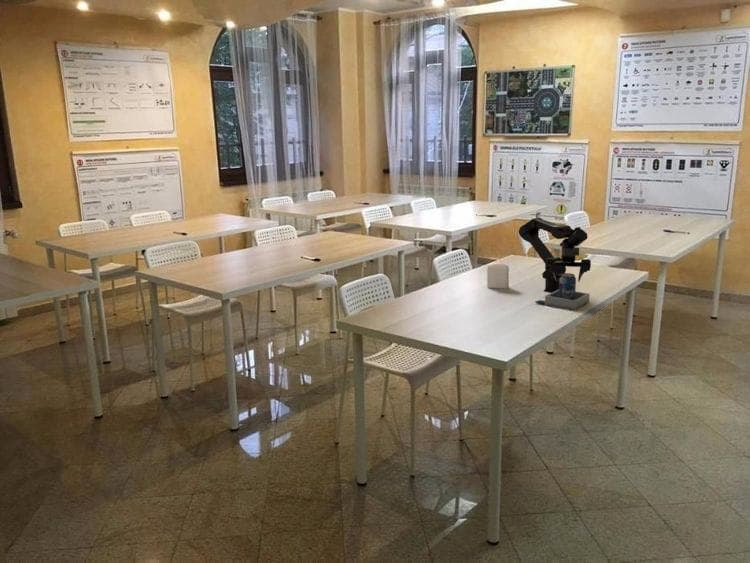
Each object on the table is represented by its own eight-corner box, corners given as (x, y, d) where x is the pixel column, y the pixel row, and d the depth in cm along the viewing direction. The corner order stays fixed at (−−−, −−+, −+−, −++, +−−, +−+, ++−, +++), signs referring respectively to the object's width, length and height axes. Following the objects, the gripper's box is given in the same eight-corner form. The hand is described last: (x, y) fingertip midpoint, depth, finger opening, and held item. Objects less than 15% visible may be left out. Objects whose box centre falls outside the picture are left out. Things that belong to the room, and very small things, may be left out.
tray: (544, 305, 276) (545, 296, 275) (558, 297, 286) (559, 289, 285) (575, 310, 267) (576, 301, 266) (589, 302, 277) (589, 293, 276)
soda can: (563, 304, 272) (564, 277, 269) (555, 300, 279) (556, 273, 276) (577, 302, 274) (579, 276, 271) (570, 298, 280) (571, 272, 277)
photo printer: (486, 288, 305) (486, 263, 302) (487, 286, 309) (488, 261, 306) (507, 289, 302) (508, 264, 299) (509, 287, 306) (509, 262, 303)
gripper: (546, 240, 277) (545, 270, 270) (591, 241, 272) (591, 272, 265) (546, 254, 287) (545, 283, 279) (589, 255, 282) (589, 285, 274)
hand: (567, 281), depth 274 cm, fingers open, 9 cm apart
